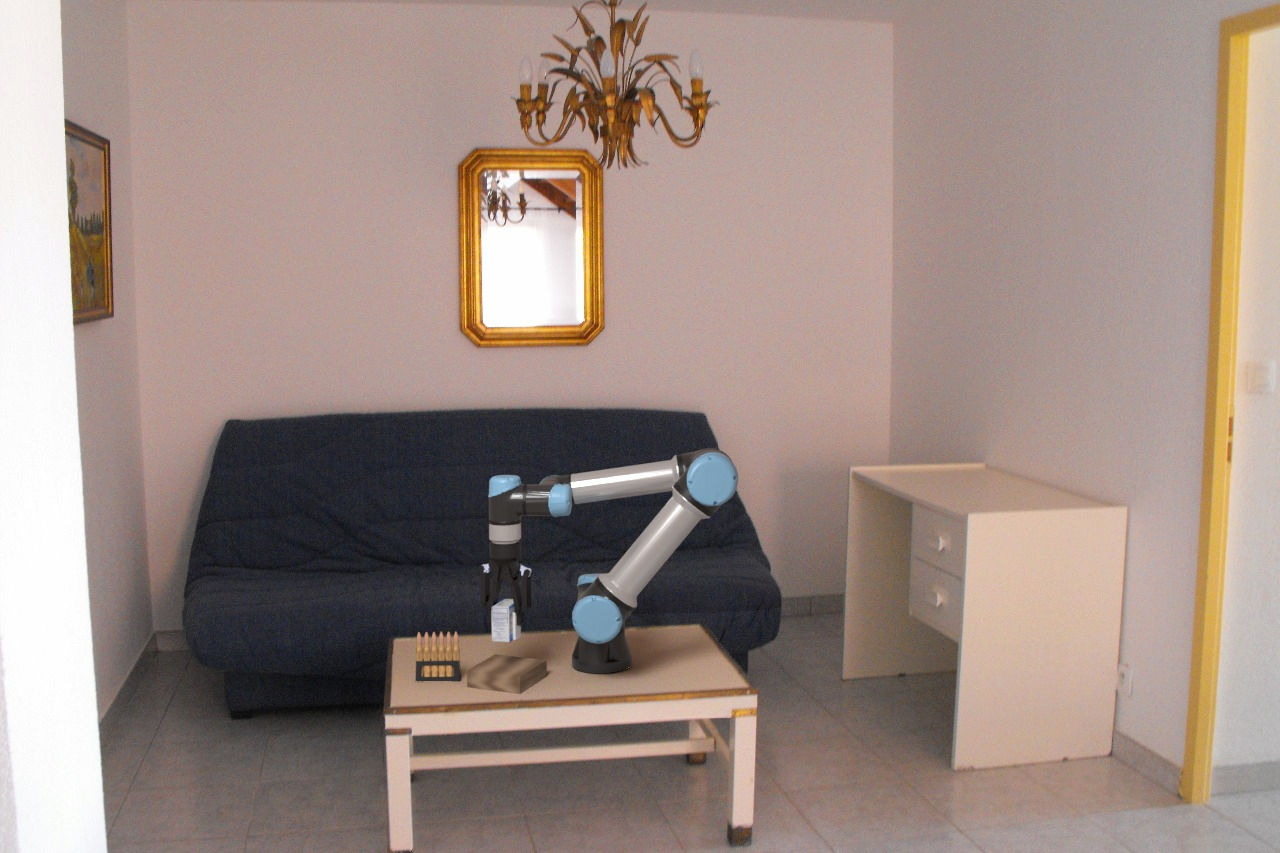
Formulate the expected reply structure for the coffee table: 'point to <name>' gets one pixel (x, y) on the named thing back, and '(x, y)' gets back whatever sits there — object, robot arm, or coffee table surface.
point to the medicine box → (503, 621)
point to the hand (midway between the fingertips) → (506, 636)
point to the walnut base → (506, 673)
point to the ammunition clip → (438, 659)
